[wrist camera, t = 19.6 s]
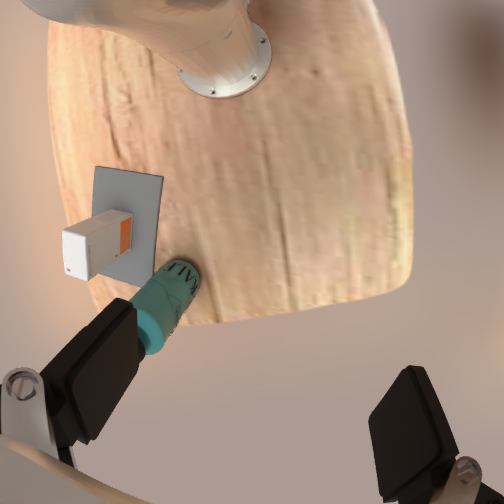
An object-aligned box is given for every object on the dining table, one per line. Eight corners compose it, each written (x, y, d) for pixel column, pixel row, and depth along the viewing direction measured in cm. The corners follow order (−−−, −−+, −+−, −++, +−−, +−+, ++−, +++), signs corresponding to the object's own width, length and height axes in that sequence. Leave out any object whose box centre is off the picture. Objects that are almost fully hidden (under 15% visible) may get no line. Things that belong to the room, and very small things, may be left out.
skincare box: (132, 250, 42) (87, 283, 31) (110, 244, 42) (63, 274, 31) (134, 212, 39) (85, 236, 28) (111, 207, 40) (60, 229, 29)
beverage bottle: (167, 291, 44) (102, 375, 25) (161, 252, 42) (83, 324, 23) (206, 295, 43) (155, 389, 25) (202, 254, 41) (139, 336, 22)
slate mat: (97, 166, 38) (95, 166, 38) (163, 176, 38) (161, 177, 37) (94, 269, 45) (92, 271, 44) (152, 289, 44) (151, 290, 44)
